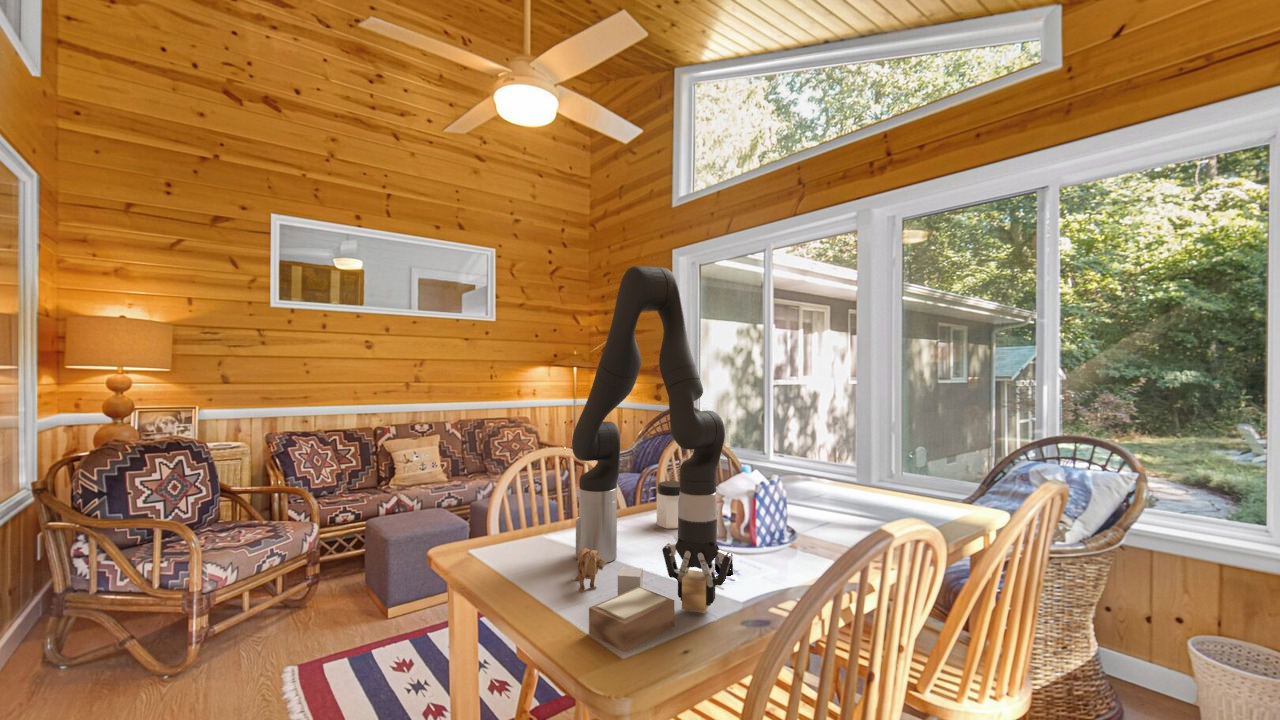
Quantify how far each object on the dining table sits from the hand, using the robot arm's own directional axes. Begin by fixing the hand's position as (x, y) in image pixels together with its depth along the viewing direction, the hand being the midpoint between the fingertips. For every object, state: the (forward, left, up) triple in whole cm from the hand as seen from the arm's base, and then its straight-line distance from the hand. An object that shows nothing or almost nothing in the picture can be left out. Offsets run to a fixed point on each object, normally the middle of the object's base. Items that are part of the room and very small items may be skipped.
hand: (696, 601), depth 113 cm
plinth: (-9, -11, -2) cm, 14 cm away
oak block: (0, 0, -1) cm, 1 cm away
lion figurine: (-25, +4, -2) cm, 26 cm away
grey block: (-14, 0, -2) cm, 14 cm away
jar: (-23, +53, -2) cm, 58 cm away
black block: (0, +21, -3) cm, 21 cm away
